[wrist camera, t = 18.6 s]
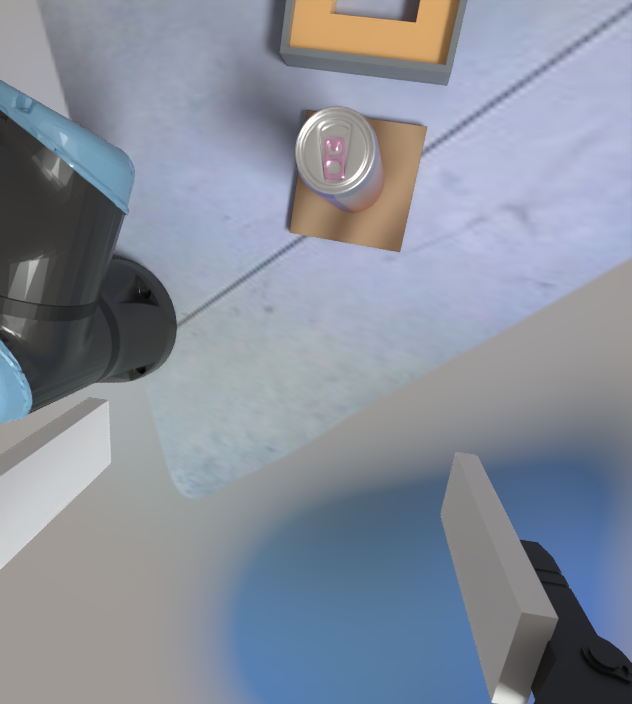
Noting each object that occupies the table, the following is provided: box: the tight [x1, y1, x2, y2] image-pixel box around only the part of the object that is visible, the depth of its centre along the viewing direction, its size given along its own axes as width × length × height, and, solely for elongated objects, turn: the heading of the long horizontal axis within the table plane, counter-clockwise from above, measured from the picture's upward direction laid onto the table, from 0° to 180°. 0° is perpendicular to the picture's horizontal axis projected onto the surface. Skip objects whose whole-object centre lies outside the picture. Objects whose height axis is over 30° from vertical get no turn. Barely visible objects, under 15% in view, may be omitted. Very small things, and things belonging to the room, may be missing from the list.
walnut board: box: [290, 110, 427, 252], centre depth 44 cm, size 12×12×1 cm
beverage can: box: [295, 106, 384, 213], centre depth 36 cm, size 6×6×15 cm
